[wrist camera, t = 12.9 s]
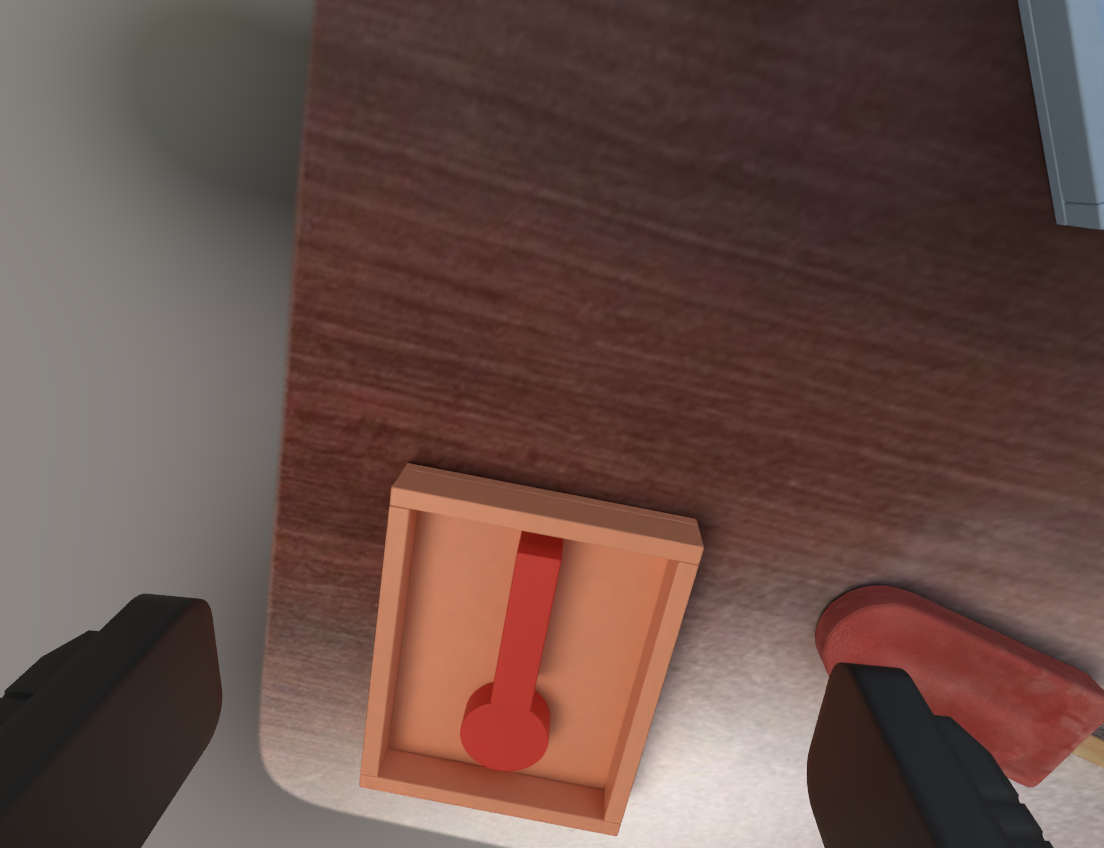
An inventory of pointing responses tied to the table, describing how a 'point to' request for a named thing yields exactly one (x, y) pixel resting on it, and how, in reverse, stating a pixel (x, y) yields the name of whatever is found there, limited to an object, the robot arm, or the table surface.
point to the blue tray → (1069, 102)
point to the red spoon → (517, 667)
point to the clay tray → (476, 631)
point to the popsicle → (971, 677)
